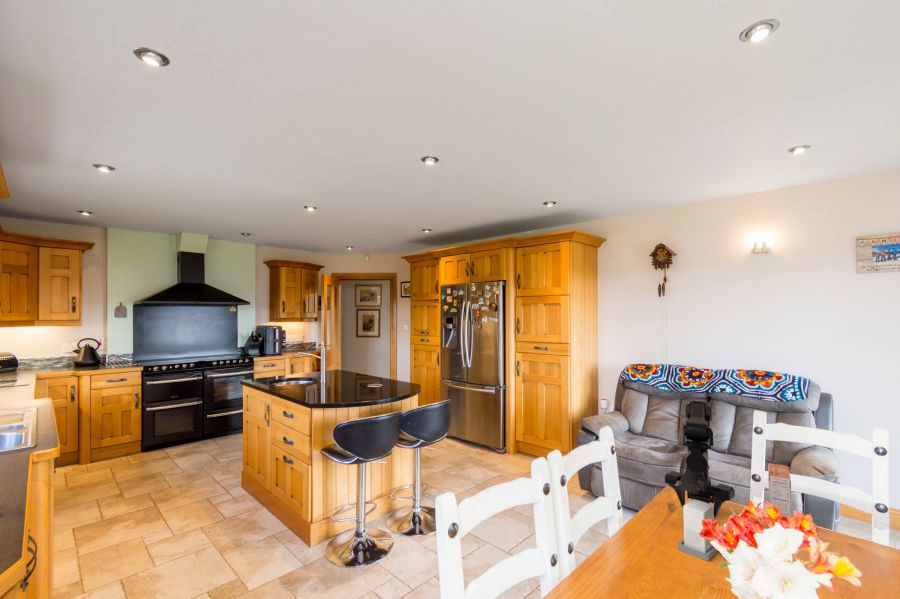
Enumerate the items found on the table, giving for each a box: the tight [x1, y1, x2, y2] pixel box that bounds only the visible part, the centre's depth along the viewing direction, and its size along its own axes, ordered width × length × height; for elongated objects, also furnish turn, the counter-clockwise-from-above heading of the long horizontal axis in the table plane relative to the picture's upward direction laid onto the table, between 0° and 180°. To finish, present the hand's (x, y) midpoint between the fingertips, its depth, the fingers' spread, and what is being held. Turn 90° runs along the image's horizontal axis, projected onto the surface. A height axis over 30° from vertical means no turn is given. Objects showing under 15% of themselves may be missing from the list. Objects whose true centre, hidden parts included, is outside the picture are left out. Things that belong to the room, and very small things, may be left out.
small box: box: [682, 499, 715, 554], centre depth 135 cm, size 8×6×13 cm
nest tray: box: [677, 538, 719, 562], centre depth 135 cm, size 11×9×2 cm
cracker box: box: [767, 462, 793, 517], centre depth 146 cm, size 14×6×21 cm, turn 144°
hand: (698, 512), depth 135 cm, fingers open, 9 cm apart
